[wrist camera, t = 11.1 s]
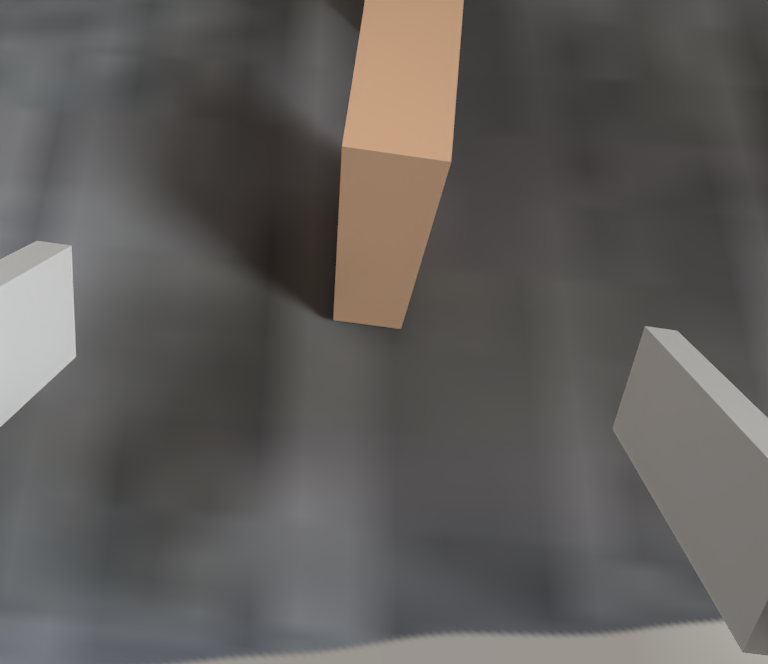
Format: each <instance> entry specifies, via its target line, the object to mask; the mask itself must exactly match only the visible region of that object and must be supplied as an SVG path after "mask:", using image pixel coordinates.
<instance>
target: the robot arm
mask: <svg viewBox="0 0 768 664" xmlns="http://www.w3.org/2000/svg"><path fill="white" fill-rule="evenodd" d="M75 357H76V343H75V318H74V294H73V269H72V246H70V245H63V244H56V243H49V242H42V241H36V242H34V243H32V244H30V245H28V246H26V247H24V248H22V249H20V250H18V251H16V252H14V253H12V254H10V255H8V256H6V257H4V258H2V259H0V427H1V426H2V425H3V424H4V423H5V422H6V421H7V420H8V419H9V418H11V417H12V416H13V415H14V414H15V413H16V412H17V411H18V410H19V409H20V408H21V407H22V406H24V405H25V404H26V403H27V402H28V401H29V400H30V399H31V398H32V397H33V396H34V395H35V394H36V393H38V392H39V391H40V390H41V389H42V388H43V387H44V386H45V385H46V384H47V383H48V382H49V381H51V380H52V379H53V378H54V377H55V376H56V375H57V374H58V373H59V372H60V371H61V370H62V369H63V368H65V367H66V366H67V365H68V364H69V363H70V362H71V361H72V360H73V359H74V358H75ZM613 431H614V432H615V434H616V436H617V437H618V439H619V441H620V443H621V444H622V446H623V448H624V449H625V451H626V453H627V455H628V456H629V458H630V460H631V461H632V463H633V465H634V467H635V468H636V470H637V472H638V473H639V475H640V477H641V479H642V480H643V482H644V484H645V485H646V487H647V489H648V491H649V492H650V494H651V496H652V497H653V499H654V501H655V503H656V504H657V506H658V508H659V509H660V511H661V513H662V515H663V516H664V518H665V520H666V521H667V523H668V525H669V527H670V528H671V530H672V532H673V533H674V535H675V537H676V539H677V540H678V542H679V544H680V545H681V547H682V549H683V551H684V552H685V554H686V556H687V557H688V559H689V561H690V563H691V564H692V566H693V568H694V569H695V571H696V573H697V575H698V576H699V578H700V580H701V581H702V583H703V585H704V587H705V588H706V590H707V592H708V593H709V595H710V597H711V599H712V600H713V602H714V604H715V605H716V607H717V609H718V611H719V612H720V614H721V616H722V617H723V619H724V621H725V623H726V624H727V626H728V628H729V629H730V631H731V633H732V635H733V636H734V638H735V640H736V641H737V643H738V645H739V647H740V648H741V650H742V652H745V653H753V654H761V655H768V418H767V417H766V416H765V415H764V414H763V413H762V412H761V411H760V410H759V409H758V408H757V407H756V406H755V405H754V404H753V403H751V402H750V401H749V400H748V399H747V398H746V397H745V396H744V395H743V394H742V393H741V392H740V391H739V390H738V389H737V388H736V387H735V386H734V385H733V384H732V383H731V382H730V381H729V380H728V379H727V378H726V377H725V376H724V375H723V374H722V373H720V372H719V371H718V370H717V369H716V368H715V367H714V366H713V365H712V364H711V363H710V362H709V361H708V360H707V359H706V358H705V357H704V356H703V355H702V354H701V353H700V352H699V351H698V350H697V349H696V348H695V347H694V346H693V345H692V344H691V343H689V342H688V341H687V340H686V339H685V338H684V337H683V336H682V335H681V334H680V333H679V332H678V331H676V330H668V329H661V328H654V327H647V326H645V328H644V331H643V334H642V337H641V340H640V344H639V347H638V350H637V353H636V356H635V359H634V363H633V366H632V369H631V372H630V375H629V378H628V381H627V385H626V388H625V391H624V394H623V397H622V400H621V404H620V407H619V410H618V413H617V416H616V419H615V423H614V426H613Z"/></svg>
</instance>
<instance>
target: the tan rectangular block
mask: <svg viewBox="0 0 768 664" xmlns="http://www.w3.org/2000/svg"><path fill="white" fill-rule="evenodd" d="M463 4H464V0H365V3H364V10H363V16H362V22H361V29H360V35H359V41H358V48H357V54H356V61H355V67H354V73H353V80H352V86H351V92H350V99H349V105H348V112H347V118H346V124H345V131H344V137H343V143H342V157H341V177H340V196H339V216H338V236H337V256H336V276H335V295H334V315H333V320H335V321H343V322H351V323H358V324H366V325H374V326H381V327H389V328H396V329H401V327H402V324H403V321H404V317H405V314H406V311H407V307H408V304H409V301H410V297H411V294H412V291H413V287H414V284H415V281H416V277H417V274H418V271H419V267H420V264H421V261H422V257H423V254H424V251H425V247H426V244H427V241H428V237H429V234H430V231H431V227H432V224H433V221H434V218H435V214H436V211H437V208H438V204H439V201H440V198H441V194H442V191H443V188H444V184H445V181H446V178H447V174H448V171H449V168H450V164H451V158H452V145H453V132H454V119H455V107H456V94H457V81H458V68H459V55H460V42H461V29H462V17H463Z"/></svg>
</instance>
